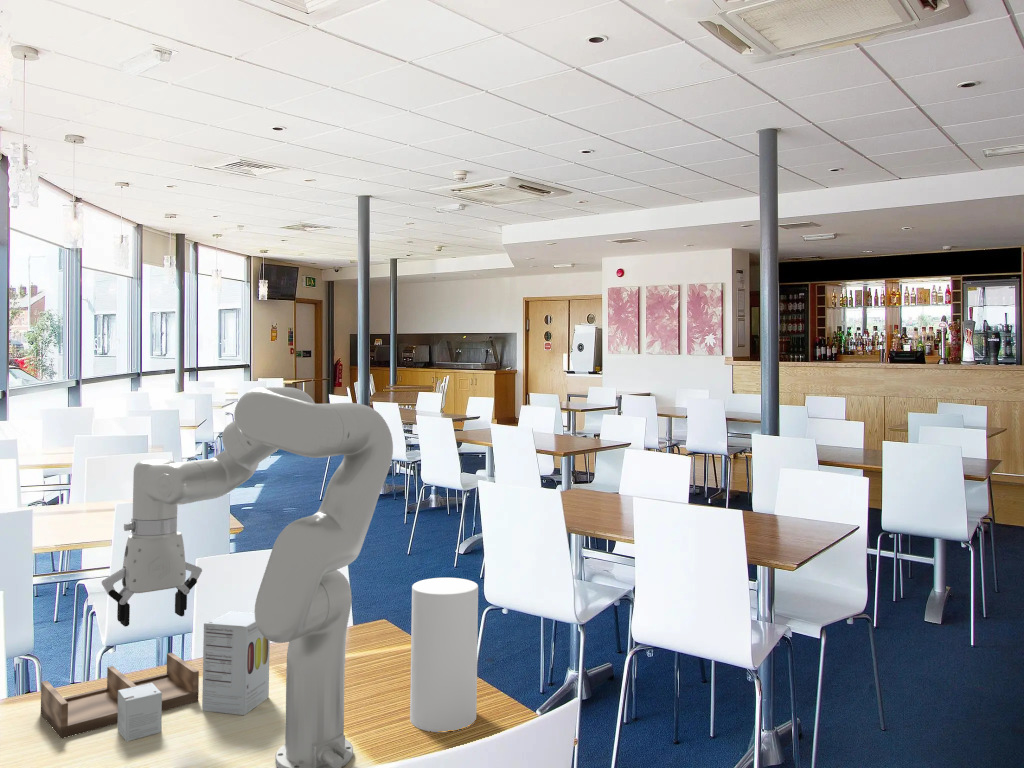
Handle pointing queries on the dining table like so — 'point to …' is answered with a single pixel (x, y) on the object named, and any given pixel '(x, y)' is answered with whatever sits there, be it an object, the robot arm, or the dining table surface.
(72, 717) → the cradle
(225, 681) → the supplement box
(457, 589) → the cylinder
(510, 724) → the dining table surface
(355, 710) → the dining table surface
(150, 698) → the skincare box
